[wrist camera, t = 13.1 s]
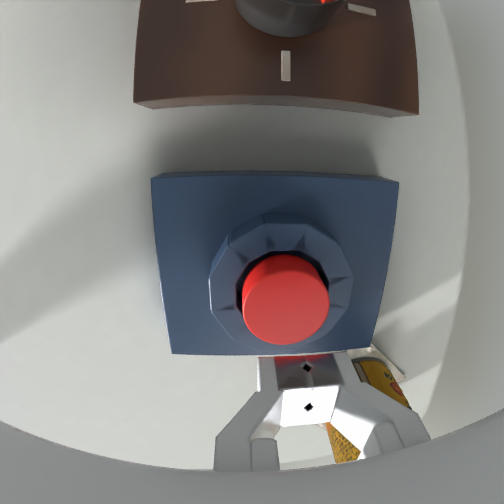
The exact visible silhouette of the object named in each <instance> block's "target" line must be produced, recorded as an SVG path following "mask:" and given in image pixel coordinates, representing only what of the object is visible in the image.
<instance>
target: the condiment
mask: <svg viewBox="0 0 504 504" xmlns="http://www.w3.org/2000/svg"><path fill="white" fill-rule="evenodd" d="M345 352H347V353H348V355H349V357H350V360H351V362H352V364H353V366H354V368H355V370H356V373H357V375H358V377H359V379H360V381H361V383H362V382H366V383H367V384H369V385H371V386H372V387H374V388H376V389H377V390H379V391H380V392H382V393H384V394H385V395H387V396H389V397H390V398H392V399H394V400H395V401H397V402H399V403H401V404H402V405H404V406H406V407H407V408H409V409H411V410H412V408H411V407H410V406H409V403H408V401H407V399H406V398H405V396H404V394H403V393H402V390H401V388H400V387H399V385H398V384H397V383H399V382H400V381H402V380H403V379H405V378H406V377H405V376H404V375H403V374H402V373H401V372H400V371H399V370H398V369H397V368H396V367H395V366H394V365H393V364H392V363H391V362H390V361H389V360H388V359H387V358H386V357H385V356H384V355H383V354H382V353H381V352H380V351H379V350H378V349H377V348H376V347H375V346H374V345H373V344H372V343H371V344H370V347H368V348H359V349H350V350H346V351H345ZM314 424H316V425H318V426H320V427H321V428H323V429H325V430H327V432H328V435H329V439H330V443H331V447H332V450H333V454H334V458H335V462H336V464H338V463H344V462H349V461H354V460H357V459H358V457H359V455H360V453H361V451H360V450H359V449H358V448H357V447H356V446H355V445H353V444H352V443H351V442H350V441H349V440H348V439H347V438H346V437H345V436H344V435H343V434H342V433H340V432H339V431H338V430H337V429H336V428H335V427H334V426H333V425H332V424H331V423H330V422H324V423H314Z"/></svg>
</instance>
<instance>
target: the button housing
mask: <svg viewBox="0 0 504 504" xmlns="http://www.w3.org/2000/svg"><path fill="white" fill-rule="evenodd" d="M398 190H399V182H396V181H393V180H390V179H386V178H383V177H377V176H365V175H352V174H337V173H318V172H293V171H201V172H176V173H162V174H160V175H157V176H155V177H153V178H151V193H152V208H153V221H154V232H155V243H156V252H157V261H158V270H159V278H160V285H161V293H162V300H163V306H164V313H165V319H166V325H167V331H168V337H169V343H170V348H171V353H172V354H187V355H277V354H298V353H314V352H328V351H339V350H350V349H359V348H368V347H370V344H371V340H372V337H373V333H374V329H375V325H376V321H377V317H378V312H379V308H380V304H381V299H382V294H383V290H384V285H385V280H386V275H387V269H388V264H389V258H390V252H391V246H392V239H393V232H394V225H395V217H396V209H397V200H398ZM282 254H287V255H294V256H298V257H300V258H303V259H305V260H306V261H308V262H309V263H310V264H311V265H312V266H313V267H314V268H315V269H316V271H317V273H318V274H319V276H320V278H321V280H322V282H323V284H324V285H325V287H326V289H327V292H328V294H329V300H330V306H329V312H328V315H327V318H326V320H325V322H324V323H323V325H322V326H321V327H320V328H319V330H318V331H316V332H315V333H314V334H313V335H311V336H310V337H308V338H307V339H305V340H302V341H300V342H297V343H293V344H286V345H279V344H272V343H268V342H266V341H263V340H261V339H259V338H258V337H256V336H255V335H254V334H253V333H252V332H251V331H250V330H249V329H248V327H247V325H246V323H245V321H244V318H243V311H242V288H243V283H244V280H245V278H246V276H247V274H248V273H249V271H250V270H251V269H252V268H253V267H254V266H255V265H256V264H257V263H259V262H260V261H262V260H264V259H266V258H268V257H271V256H275V255H282Z"/></svg>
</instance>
